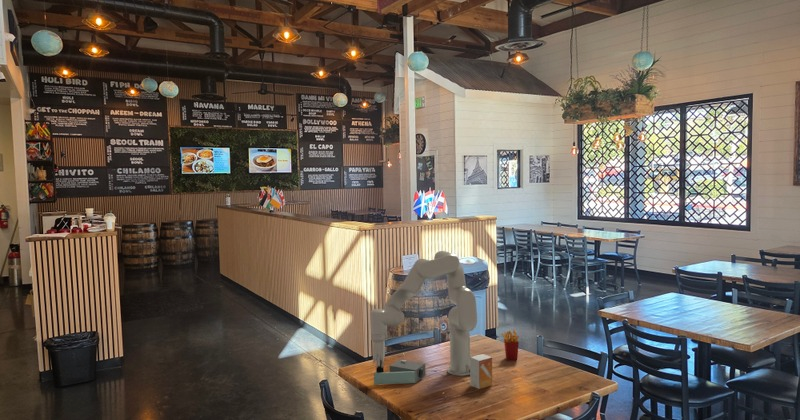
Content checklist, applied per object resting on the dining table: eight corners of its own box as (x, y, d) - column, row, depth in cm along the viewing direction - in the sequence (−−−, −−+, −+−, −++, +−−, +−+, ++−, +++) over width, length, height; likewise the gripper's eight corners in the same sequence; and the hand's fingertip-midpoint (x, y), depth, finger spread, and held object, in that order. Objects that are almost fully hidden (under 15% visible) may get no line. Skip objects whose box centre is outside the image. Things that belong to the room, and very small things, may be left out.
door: (416, 382, 241) (416, 371, 241) (416, 382, 240) (416, 371, 240) (374, 383, 240) (373, 372, 240) (374, 384, 239) (373, 373, 239)
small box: (479, 389, 232) (479, 360, 231) (469, 385, 237) (469, 357, 236) (492, 385, 236) (492, 357, 235) (483, 381, 241) (482, 353, 241)
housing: (427, 376, 249) (427, 361, 249) (418, 383, 241) (417, 368, 240) (399, 371, 257) (399, 357, 256) (389, 378, 248) (389, 364, 247)
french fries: (519, 361, 267) (519, 332, 266) (503, 361, 267) (502, 332, 266) (515, 355, 275) (515, 327, 275) (500, 356, 275) (499, 327, 275)
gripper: (372, 331, 249) (373, 369, 250) (369, 341, 234) (370, 381, 235) (388, 331, 248) (389, 369, 249) (386, 341, 233) (387, 381, 234)
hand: (380, 375), depth 242 cm, fingers closed
